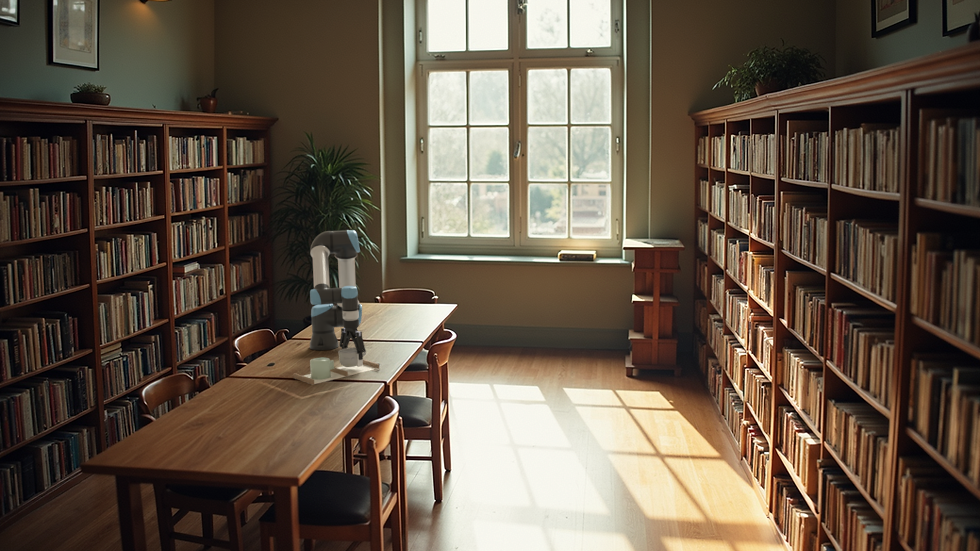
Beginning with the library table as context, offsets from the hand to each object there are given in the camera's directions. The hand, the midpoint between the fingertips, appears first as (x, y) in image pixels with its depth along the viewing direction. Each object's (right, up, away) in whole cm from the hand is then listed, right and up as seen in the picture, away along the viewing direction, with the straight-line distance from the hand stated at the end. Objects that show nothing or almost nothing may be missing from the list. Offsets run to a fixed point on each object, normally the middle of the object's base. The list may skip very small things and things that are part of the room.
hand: (353, 364), depth 399 cm
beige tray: (-6, -5, -6) cm, 10 cm away
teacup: (0, -1, 0) cm, 1 cm away
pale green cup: (-12, -4, -11) cm, 17 cm away
